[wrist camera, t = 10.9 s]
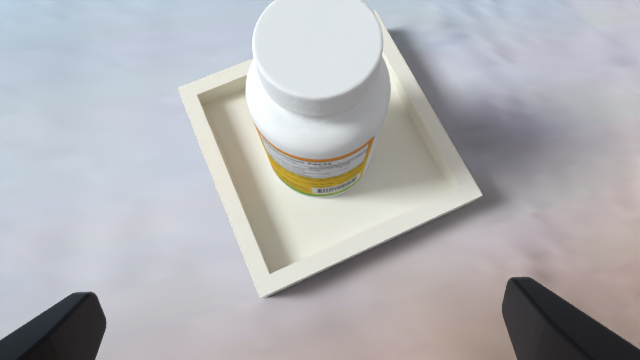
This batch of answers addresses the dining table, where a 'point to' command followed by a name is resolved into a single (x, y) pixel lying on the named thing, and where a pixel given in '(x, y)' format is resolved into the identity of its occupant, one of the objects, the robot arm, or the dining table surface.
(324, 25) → the supplement bottle
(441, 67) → the dining table surface
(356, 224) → the dish
